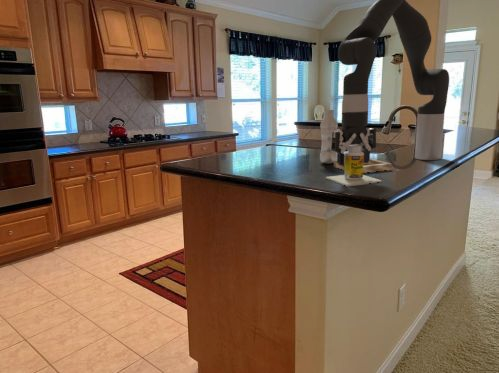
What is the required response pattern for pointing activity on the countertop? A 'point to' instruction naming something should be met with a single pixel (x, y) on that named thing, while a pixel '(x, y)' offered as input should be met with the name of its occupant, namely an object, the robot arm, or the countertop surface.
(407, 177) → the countertop surface
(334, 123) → the plastic bottle
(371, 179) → the white square pad
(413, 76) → the robot arm
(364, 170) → the beech cradle
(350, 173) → the supplement bottle
